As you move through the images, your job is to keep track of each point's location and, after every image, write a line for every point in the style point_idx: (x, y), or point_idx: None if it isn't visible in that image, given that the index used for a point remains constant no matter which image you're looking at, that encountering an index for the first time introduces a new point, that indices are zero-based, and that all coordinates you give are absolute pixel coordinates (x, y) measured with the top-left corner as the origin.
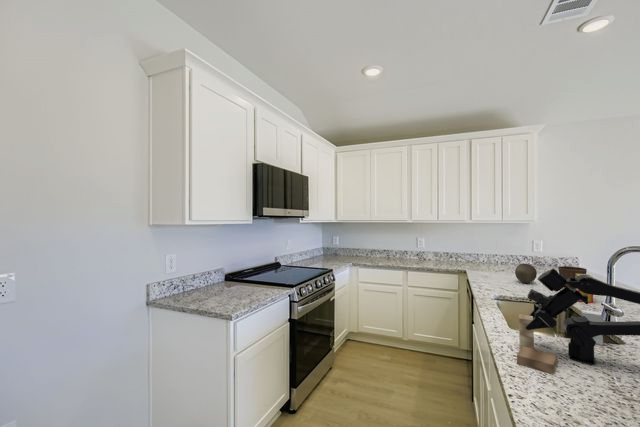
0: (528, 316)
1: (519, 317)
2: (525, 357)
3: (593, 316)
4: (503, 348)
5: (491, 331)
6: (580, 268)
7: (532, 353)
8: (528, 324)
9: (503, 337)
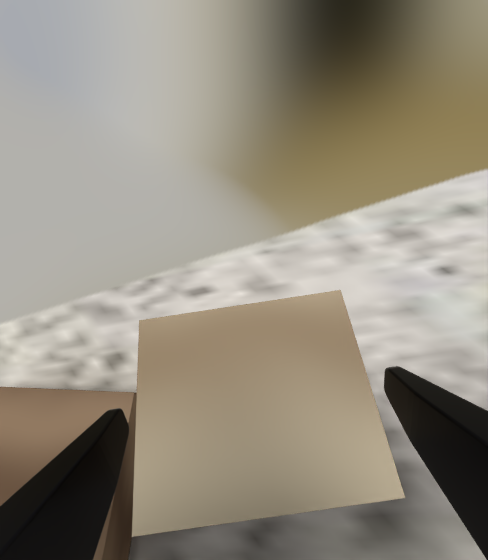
0: (330, 423)
1: (182, 319)
2: None
3: None
4: (179, 302)
5: (378, 212)
6: None
7: (30, 465)
8: (72, 451)
9: (337, 271)
